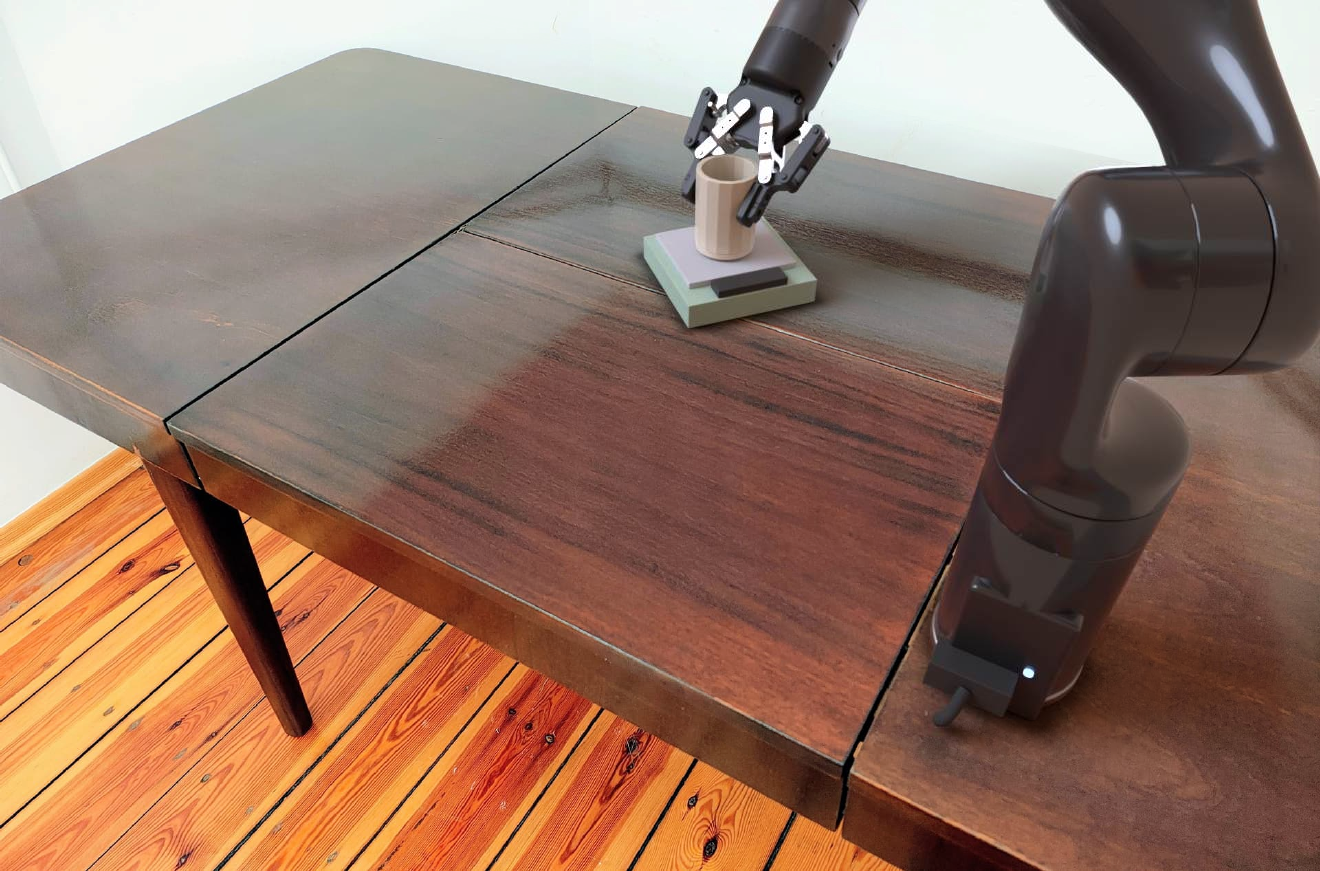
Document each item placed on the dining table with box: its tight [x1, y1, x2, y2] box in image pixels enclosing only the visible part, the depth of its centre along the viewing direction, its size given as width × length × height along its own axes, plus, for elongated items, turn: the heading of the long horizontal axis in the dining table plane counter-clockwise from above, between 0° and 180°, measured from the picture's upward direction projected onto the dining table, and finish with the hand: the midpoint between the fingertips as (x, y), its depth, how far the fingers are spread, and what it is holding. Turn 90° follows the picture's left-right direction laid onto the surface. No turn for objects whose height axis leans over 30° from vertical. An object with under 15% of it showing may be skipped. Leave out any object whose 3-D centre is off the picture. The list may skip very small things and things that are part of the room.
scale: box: [643, 215, 818, 329], centre depth 92 cm, size 13×13×3 cm
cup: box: [694, 153, 760, 260], centre depth 88 cm, size 6×6×8 cm
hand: (715, 211), depth 87 cm, fingers closed on cup, 6 cm apart
